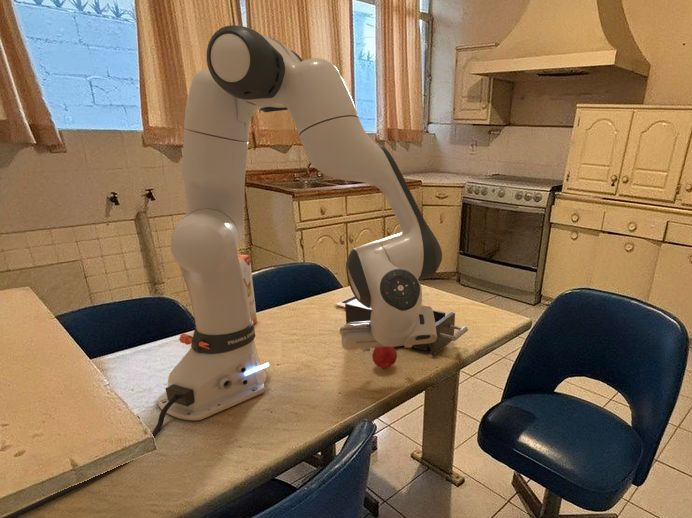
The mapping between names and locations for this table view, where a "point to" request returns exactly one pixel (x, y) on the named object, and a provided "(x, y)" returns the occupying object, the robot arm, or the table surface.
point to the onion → (384, 357)
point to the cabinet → (358, 312)
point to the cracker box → (248, 284)
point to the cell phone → (342, 303)
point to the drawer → (443, 332)
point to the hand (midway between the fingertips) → (386, 346)
